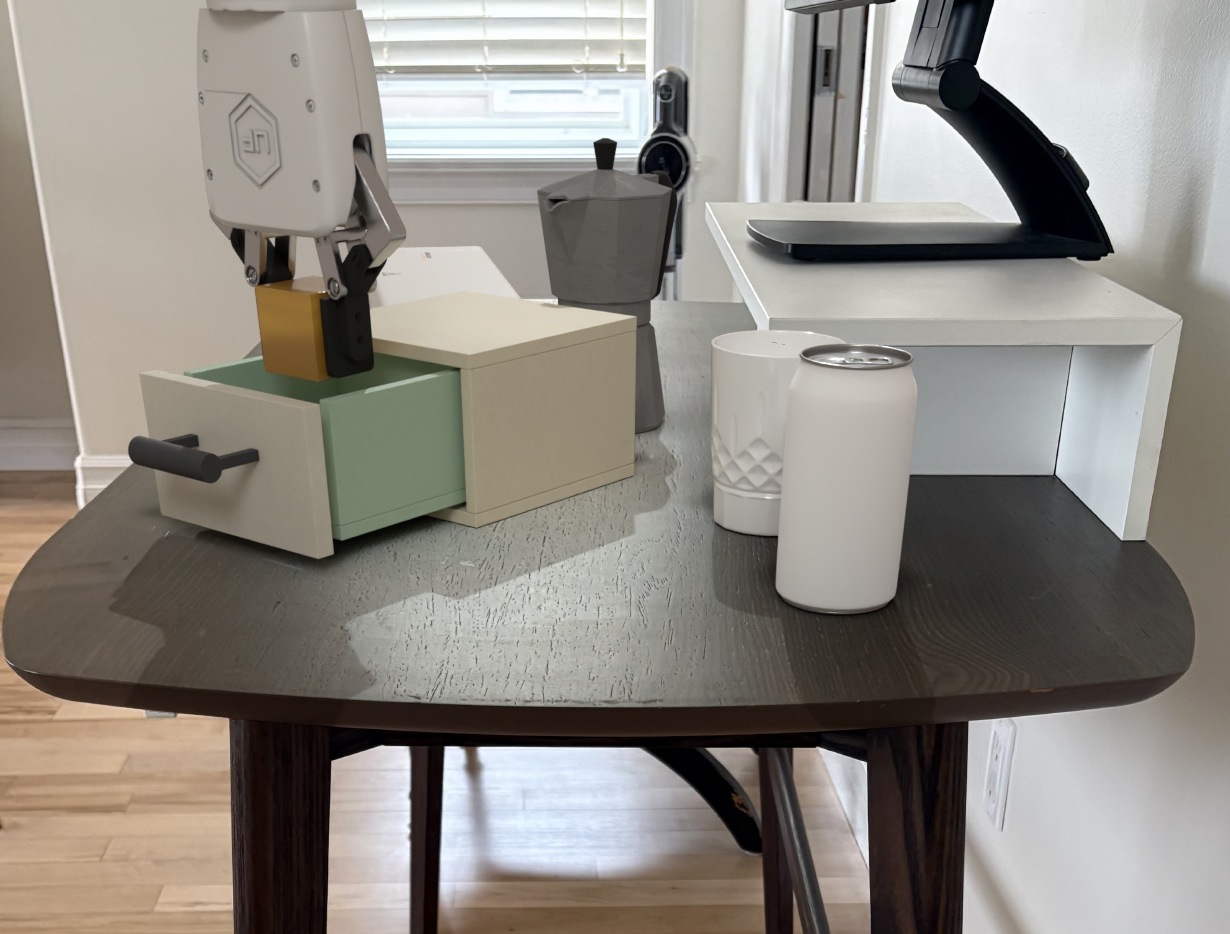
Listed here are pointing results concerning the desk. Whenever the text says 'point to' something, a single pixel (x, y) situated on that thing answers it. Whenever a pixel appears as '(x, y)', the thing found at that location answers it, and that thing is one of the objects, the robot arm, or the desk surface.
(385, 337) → the cabinet
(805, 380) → the can
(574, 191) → the coffeepot
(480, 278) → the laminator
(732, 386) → the white cup
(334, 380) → the drawer
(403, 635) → the desk surface
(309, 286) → the block
